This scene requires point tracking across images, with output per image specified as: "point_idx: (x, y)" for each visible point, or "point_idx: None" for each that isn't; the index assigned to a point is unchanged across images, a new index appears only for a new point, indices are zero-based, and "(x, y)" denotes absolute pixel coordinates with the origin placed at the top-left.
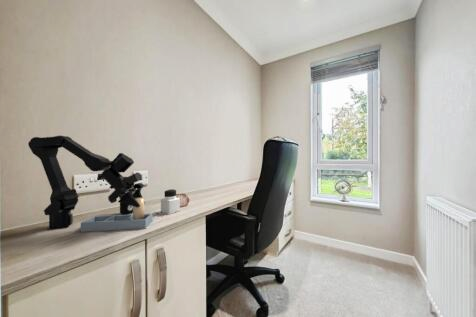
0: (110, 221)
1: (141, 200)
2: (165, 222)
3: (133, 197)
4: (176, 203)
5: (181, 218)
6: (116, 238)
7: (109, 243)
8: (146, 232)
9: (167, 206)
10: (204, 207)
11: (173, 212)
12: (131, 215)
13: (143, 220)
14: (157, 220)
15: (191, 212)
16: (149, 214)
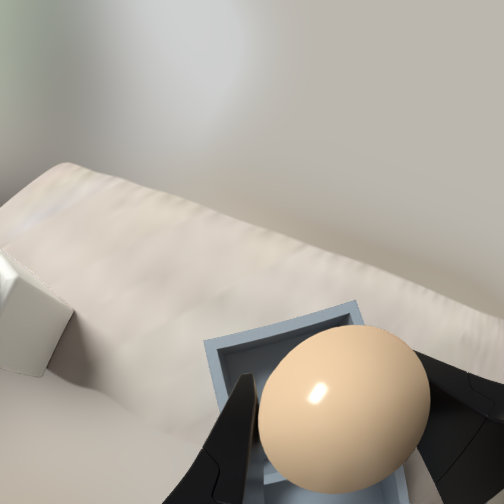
0: (408, 499)
1: (377, 335)
2: (223, 259)
3: (477, 398)
4: (14, 262)
5: (154, 209)
6: (461, 359)
7: (490, 341)
8: (382, 274)
9: (37, 310)
10: (22, 193)
11: (56, 294)
12: (268, 483)
13: (359, 313)
14: (187, 329)
15: (68, 209)
16: (219, 358)
